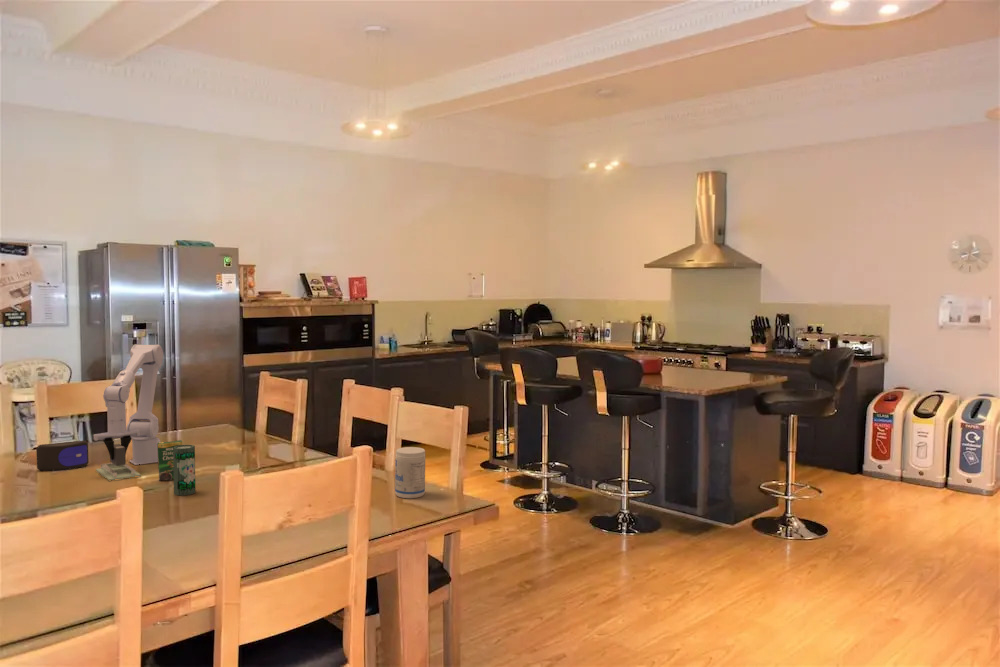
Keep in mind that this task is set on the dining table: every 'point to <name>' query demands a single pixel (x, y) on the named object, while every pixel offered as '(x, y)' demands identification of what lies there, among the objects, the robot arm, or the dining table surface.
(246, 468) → the dining table surface
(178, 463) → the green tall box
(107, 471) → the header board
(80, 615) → the dining table surface
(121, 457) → the brown block
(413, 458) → the supplement tub
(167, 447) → the coffee box
